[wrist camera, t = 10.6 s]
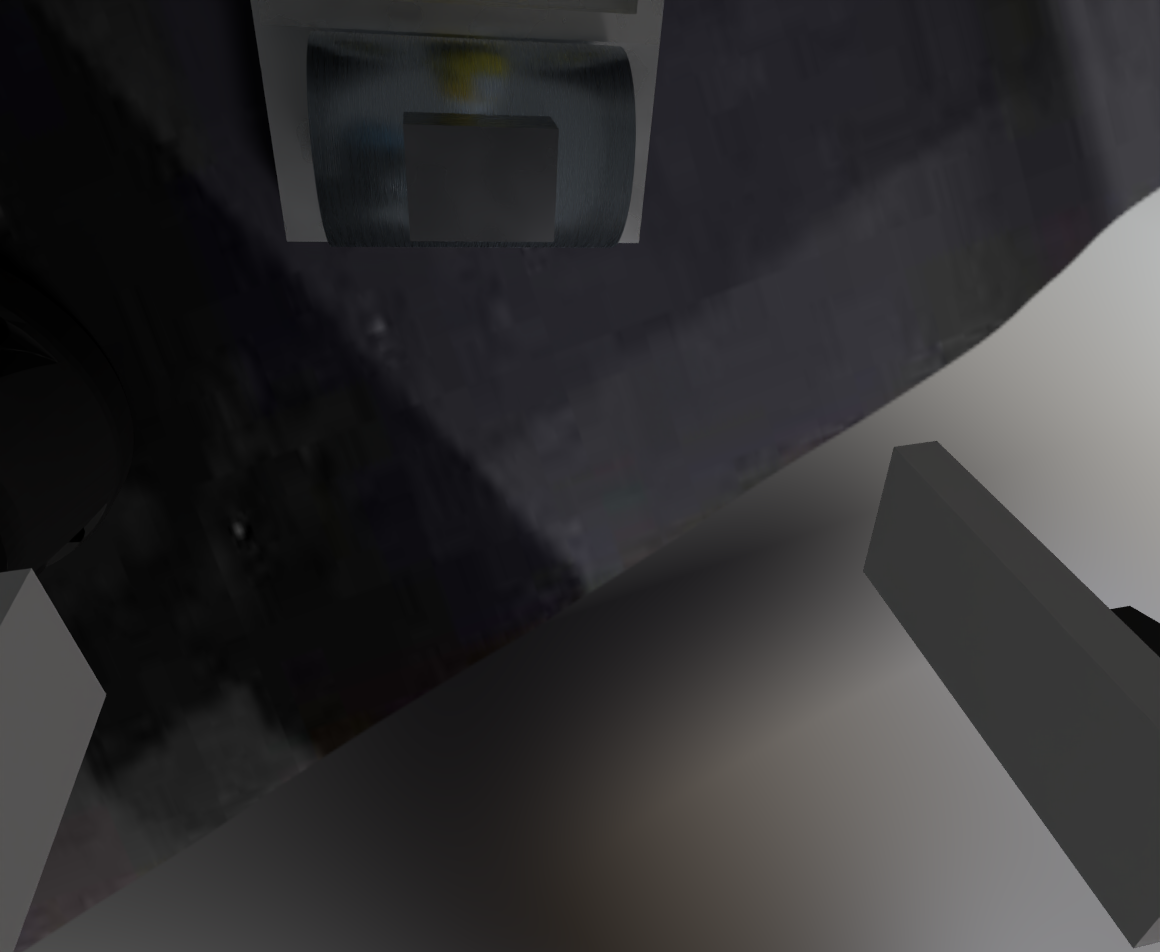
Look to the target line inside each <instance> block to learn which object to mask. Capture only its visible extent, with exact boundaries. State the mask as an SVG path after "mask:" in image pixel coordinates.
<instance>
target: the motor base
mask: <svg viewBox="0 0 1160 952" xmlns="http://www.w3.org/2000/svg"><path fill="white" fill-rule="evenodd" d="M250 1H251V7H252V14H253V21H254V27H255V34H256V40H257V47H258V54H259V60H260V67H261V73H262V80H263V87H264V93H265V100H266V106H267V113H268V120H269V126H270V133H271V139H272V146H273V153H274V159H275V166H276V172H277V179H278V186H279V192H280V199H281V205H282V212H283V219H284V225H285V232H286V238H287V241H304V242H328V243H329V245H330V246H331V247H568V248H613V247H615V246H616V245H617V244H618V243H639V235H640V225H641V216H642V206H643V197H644V187H645V178H646V168H647V159H648V149H649V140H650V130H651V121H652V111H653V101H654V92H655V82H656V73H657V63H658V54H659V44H660V35H661V25H662V16H663V6H664V0H250Z"/></svg>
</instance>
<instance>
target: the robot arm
mask: <svg viewBox="0 0 1160 952" xmlns="http://www.w3.org/2000/svg"><path fill="white" fill-rule="evenodd" d="M133 448H134V432H133V423H132V417H131V412H130V408H129V405H128V402H127V399H126V396H125V393H124V391H123V388H122V386H121V384H120V382H119V380H118V378H117V376H116V374H115V372H114V370H113V369H112V367H111V365H110V364H109V362H108V361H107V359H106V358H105V356H104V355H103V353H102V352H101V351H100V349H99V348H98V347H97V345H96V344H95V343H94V342H93V341H92V339H91V338H90V337H89V336H88V335H87V333H86V332H85V331H84V330H83V329H82V328H81V327H80V326H79V325H78V324H77V323H76V322H75V321H74V320H73V319H72V318H71V317H70V316H69V315H68V314H66V313H65V312H64V311H63V310H62V309H61V308H60V307H58V306H57V305H56V304H55V303H54V302H52V301H51V300H50V299H48V298H47V297H46V296H44V295H43V294H42V293H40V292H39V291H38V290H36V289H35V288H33V287H32V286H30V285H29V284H27V283H26V282H24V281H23V280H21V279H19V278H18V277H16V276H14V275H13V274H11V273H9V272H7V271H6V270H4V269H2V268H0V952H13V951H14V949H15V946H16V943H17V940H18V937H19V935H20V932H21V929H22V926H23V924H24V921H25V918H26V915H27V912H28V910H29V907H30V904H31V901H32V899H33V896H34V893H35V890H36V888H37V885H38V882H39V879H40V876H41V874H42V871H43V868H44V865H45V863H46V860H47V857H48V854H49V852H50V849H51V846H52V843H53V840H54V838H55V835H56V832H57V829H58V827H59V824H60V821H61V818H62V815H63V813H64V810H65V807H66V804H67V802H68V799H69V796H70V793H71V791H72V788H73V785H74V782H75V779H76V777H77V774H78V771H79V768H80V766H81V763H82V760H83V757H84V754H85V752H86V749H87V746H88V743H89V741H90V738H91V735H92V732H93V730H94V727H95V724H96V721H97V718H98V716H99V713H100V710H101V707H102V705H103V702H104V699H105V696H106V694H105V692H104V690H103V689H102V687H101V685H100V683H99V682H98V680H97V678H96V677H95V675H94V673H93V672H92V670H91V668H90V666H89V665H88V663H87V661H86V660H85V658H84V656H83V655H82V653H81V651H80V650H79V648H78V646H77V644H76V643H75V641H74V639H73V638H72V636H71V634H70V633H69V631H68V629H67V627H66V626H65V624H64V622H63V621H62V619H61V617H60V616H59V614H58V612H57V610H56V609H55V607H54V605H53V604H52V602H51V600H50V599H49V597H48V595H47V594H46V592H45V590H44V588H43V587H42V585H41V583H40V582H39V580H38V578H37V576H38V575H39V574H40V573H41V572H42V571H43V570H44V569H45V567H47V566H49V565H51V564H53V563H55V562H56V561H58V560H60V559H61V558H63V557H64V556H66V555H67V554H69V553H70V552H71V551H73V550H74V549H76V548H77V547H78V546H79V545H81V544H82V543H83V542H84V541H85V540H86V539H87V538H88V537H89V536H90V535H91V534H92V533H93V532H94V531H95V530H96V529H97V527H98V526H99V525H100V524H101V522H102V521H103V520H104V518H105V517H106V515H107V514H108V512H109V510H110V509H111V507H112V505H113V503H114V501H115V499H116V497H117V495H118V493H119V491H120V489H121V487H122V485H123V483H124V481H125V479H126V477H127V474H128V471H129V469H130V465H131V461H132V455H133ZM863 571H864V573H865V574H866V576H867V577H868V578H869V580H870V581H871V583H872V584H873V585H874V587H875V588H876V590H877V591H878V592H879V594H880V595H881V597H882V598H883V599H884V601H885V602H886V604H887V605H888V606H889V608H890V609H891V611H892V612H893V613H894V615H895V616H896V618H897V619H898V620H899V622H900V623H901V625H902V626H903V627H904V629H905V630H906V632H907V633H908V634H909V636H910V637H911V638H912V640H913V641H914V643H915V644H916V646H917V647H918V648H919V650H920V651H921V652H922V654H923V655H924V657H925V658H926V659H927V661H928V662H929V664H930V665H931V666H932V668H933V669H934V671H935V672H936V673H937V675H938V676H939V678H940V679H941V680H942V682H943V683H944V685H945V686H946V687H947V689H948V690H949V692H950V693H951V694H952V696H953V697H954V699H955V700H956V701H957V703H958V704H959V705H960V707H961V708H962V710H963V711H964V712H965V714H966V715H967V717H968V718H969V719H970V721H971V722H972V724H973V725H974V726H975V728H976V729H977V731H978V732H979V733H980V735H981V736H982V738H983V739H984V740H985V742H986V743H987V745H988V746H989V747H990V749H991V750H992V751H993V753H994V754H995V756H996V757H997V759H998V760H999V761H1000V763H1001V764H1002V766H1003V767H1004V768H1005V770H1006V771H1007V773H1008V774H1009V775H1010V777H1011V778H1012V780H1013V781H1014V782H1015V784H1016V785H1017V787H1018V788H1019V789H1020V791H1021V792H1022V794H1023V795H1024V796H1025V798H1026V799H1027V800H1028V802H1029V803H1030V805H1031V806H1032V807H1033V809H1034V810H1035V812H1036V813H1037V814H1038V816H1039V817H1040V819H1041V820H1042V821H1043V823H1044V824H1045V826H1046V827H1047V828H1048V829H1049V831H1050V833H1051V834H1052V835H1053V837H1054V838H1055V840H1056V841H1057V842H1058V844H1059V845H1060V847H1061V848H1062V849H1063V851H1064V852H1065V854H1066V855H1067V856H1068V857H1069V859H1070V861H1071V862H1072V863H1073V865H1074V866H1075V868H1076V869H1077V870H1078V871H1079V873H1080V874H1081V876H1082V877H1083V879H1084V880H1085V881H1086V883H1087V884H1088V886H1089V887H1090V888H1091V890H1092V891H1093V893H1094V894H1095V895H1096V897H1097V898H1098V900H1099V901H1100V902H1101V904H1102V905H1103V907H1104V908H1105V909H1106V911H1107V912H1108V914H1109V915H1110V916H1111V918H1112V919H1113V921H1114V922H1115V923H1116V925H1117V926H1118V927H1119V929H1120V930H1121V932H1122V933H1123V935H1124V936H1125V937H1126V938H1127V940H1128V942H1129V943H1130V944H1131V946H1132V947H1133V948H1137V947H1141V946H1145V945H1149V944H1153V943H1156V942H1160V623H1158V622H1157V621H1155V620H1153V619H1152V618H1150V617H1148V616H1146V615H1145V614H1143V613H1141V612H1139V611H1138V610H1136V609H1134V608H1133V607H1131V606H1127V607H1121V608H1115V609H1109V608H1108V607H1107V606H1106V605H1105V604H1104V603H1103V602H1102V601H1101V600H1100V599H1099V598H1098V597H1097V596H1096V595H1095V594H1094V593H1093V592H1092V591H1091V590H1090V589H1089V588H1088V587H1086V586H1085V584H1083V583H1082V582H1081V581H1080V580H1079V579H1078V578H1077V577H1076V576H1075V575H1074V574H1073V573H1072V572H1071V571H1070V570H1069V569H1068V568H1067V567H1066V566H1065V565H1064V564H1063V563H1062V562H1061V561H1060V560H1059V559H1058V558H1057V557H1056V556H1055V555H1054V554H1053V553H1051V552H1050V550H1048V549H1047V548H1046V547H1045V546H1044V545H1043V544H1042V543H1041V542H1040V541H1039V540H1038V539H1037V538H1036V537H1035V536H1034V535H1033V534H1032V533H1031V532H1030V531H1029V530H1028V529H1027V528H1026V527H1025V526H1024V525H1023V524H1022V523H1021V522H1020V521H1019V520H1018V519H1017V518H1015V516H1013V515H1012V514H1011V513H1010V512H1009V511H1008V510H1007V509H1006V508H1005V507H1004V506H1003V505H1002V504H1001V503H1000V502H999V501H998V500H997V499H996V498H995V497H994V496H993V495H992V494H991V493H990V492H989V491H988V490H987V489H986V488H985V487H984V486H983V485H982V484H980V483H979V482H978V481H977V480H976V479H975V478H974V477H973V476H972V475H971V474H970V473H969V472H968V471H967V470H966V469H965V468H964V467H963V466H962V465H961V464H960V463H959V462H958V461H957V460H956V459H955V458H954V457H953V456H952V455H951V454H950V453H949V452H947V450H946V449H944V448H943V447H942V446H941V445H940V444H939V443H938V442H937V441H933V442H926V443H919V444H912V445H905V446H898V447H894V449H893V453H892V457H891V461H890V465H889V470H888V473H887V477H886V481H885V485H884V489H883V493H882V497H881V501H880V505H879V509H878V513H877V517H876V522H875V525H874V530H873V533H872V537H871V542H870V545H869V549H868V554H867V557H866V561H865V566H864V570H863Z"/></svg>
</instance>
